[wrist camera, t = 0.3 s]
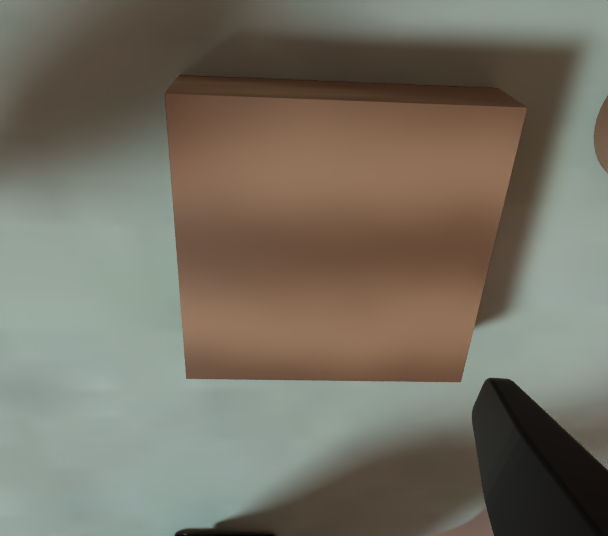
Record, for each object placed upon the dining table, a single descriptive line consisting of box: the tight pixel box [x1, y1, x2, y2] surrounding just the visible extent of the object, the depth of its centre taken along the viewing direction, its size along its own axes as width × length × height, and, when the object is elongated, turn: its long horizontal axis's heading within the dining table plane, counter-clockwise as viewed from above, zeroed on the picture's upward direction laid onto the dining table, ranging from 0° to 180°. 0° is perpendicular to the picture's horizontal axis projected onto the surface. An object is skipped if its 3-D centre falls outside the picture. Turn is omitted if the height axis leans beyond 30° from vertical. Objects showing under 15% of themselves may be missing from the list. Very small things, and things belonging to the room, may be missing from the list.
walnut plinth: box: [165, 75, 527, 382], centre depth 23 cm, size 12×12×3 cm
